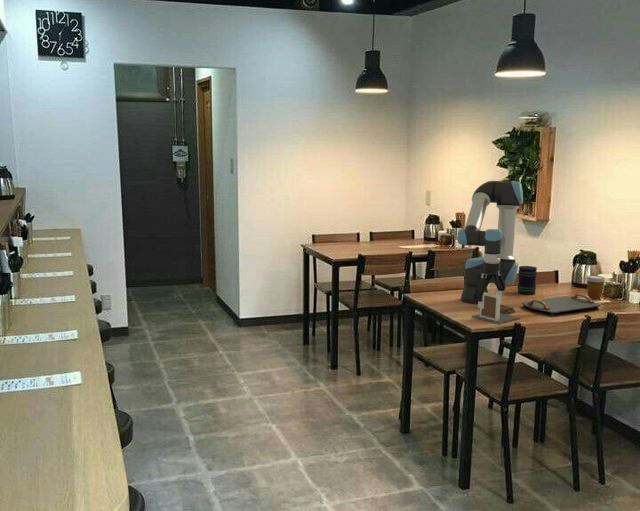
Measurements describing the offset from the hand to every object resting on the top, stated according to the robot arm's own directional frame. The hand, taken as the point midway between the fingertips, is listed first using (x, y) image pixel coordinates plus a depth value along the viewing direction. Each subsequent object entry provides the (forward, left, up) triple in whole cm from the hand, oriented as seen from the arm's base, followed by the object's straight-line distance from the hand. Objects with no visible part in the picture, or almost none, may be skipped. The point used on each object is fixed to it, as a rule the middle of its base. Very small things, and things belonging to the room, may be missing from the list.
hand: (489, 306), depth 299 cm
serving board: (+8, +48, -7) cm, 49 cm away
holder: (-8, +18, -7) cm, 21 cm away
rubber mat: (0, +5, -7) cm, 8 cm away
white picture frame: (0, 0, -6) cm, 6 cm away
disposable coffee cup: (+7, +83, -7) cm, 84 cm away
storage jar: (-23, +64, -7) cm, 68 cm away
